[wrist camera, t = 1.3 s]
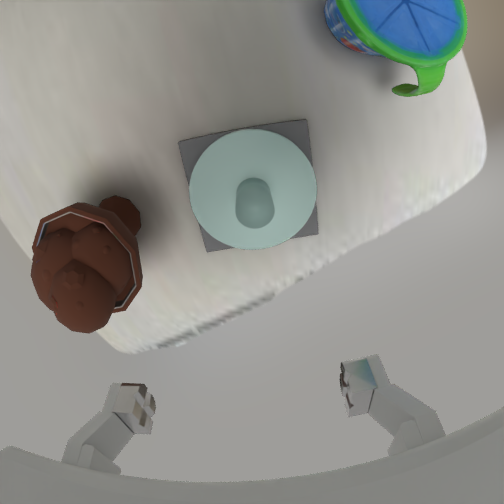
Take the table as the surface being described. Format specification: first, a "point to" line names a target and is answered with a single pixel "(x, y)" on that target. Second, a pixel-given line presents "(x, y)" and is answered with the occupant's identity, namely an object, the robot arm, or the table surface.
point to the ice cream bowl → (88, 262)
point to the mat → (198, 145)
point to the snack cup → (402, 34)
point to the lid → (252, 189)
